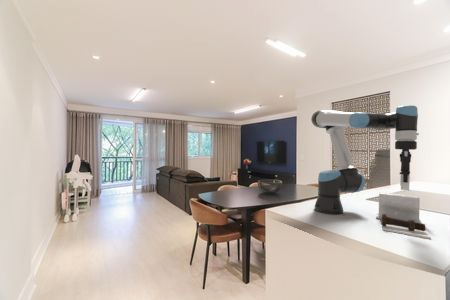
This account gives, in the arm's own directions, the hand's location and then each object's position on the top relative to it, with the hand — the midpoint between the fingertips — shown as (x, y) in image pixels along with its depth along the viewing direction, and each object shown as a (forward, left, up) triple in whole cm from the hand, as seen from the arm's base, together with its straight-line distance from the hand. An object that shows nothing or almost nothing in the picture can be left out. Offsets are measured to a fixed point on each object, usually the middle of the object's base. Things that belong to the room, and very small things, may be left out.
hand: (404, 188), depth 98 cm
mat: (0, -1, -19) cm, 19 cm away
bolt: (0, -1, -18) cm, 18 cm away
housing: (-2, +17, -19) cm, 25 cm away
